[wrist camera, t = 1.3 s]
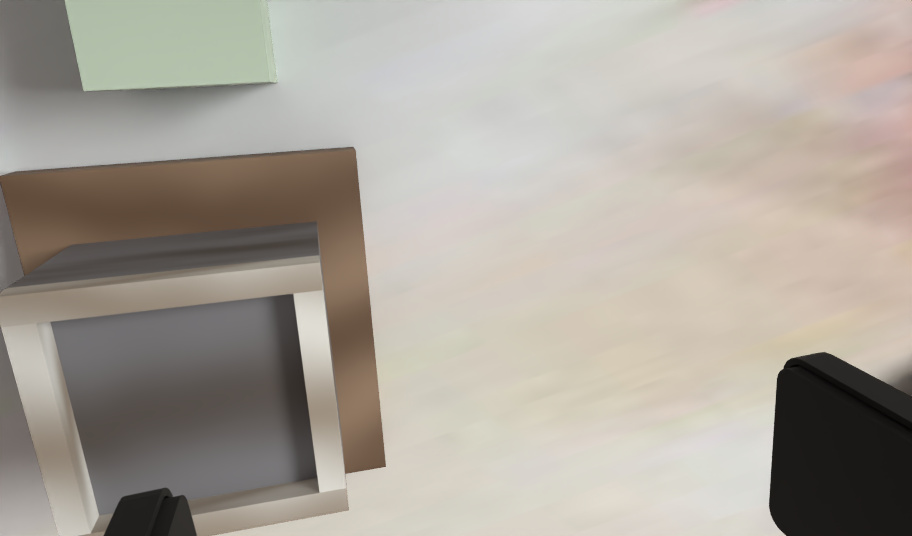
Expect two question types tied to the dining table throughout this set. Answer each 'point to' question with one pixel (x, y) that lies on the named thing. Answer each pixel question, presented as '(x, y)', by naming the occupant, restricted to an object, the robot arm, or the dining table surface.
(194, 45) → the sage block
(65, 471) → the pillar base
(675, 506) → the dining table surface
